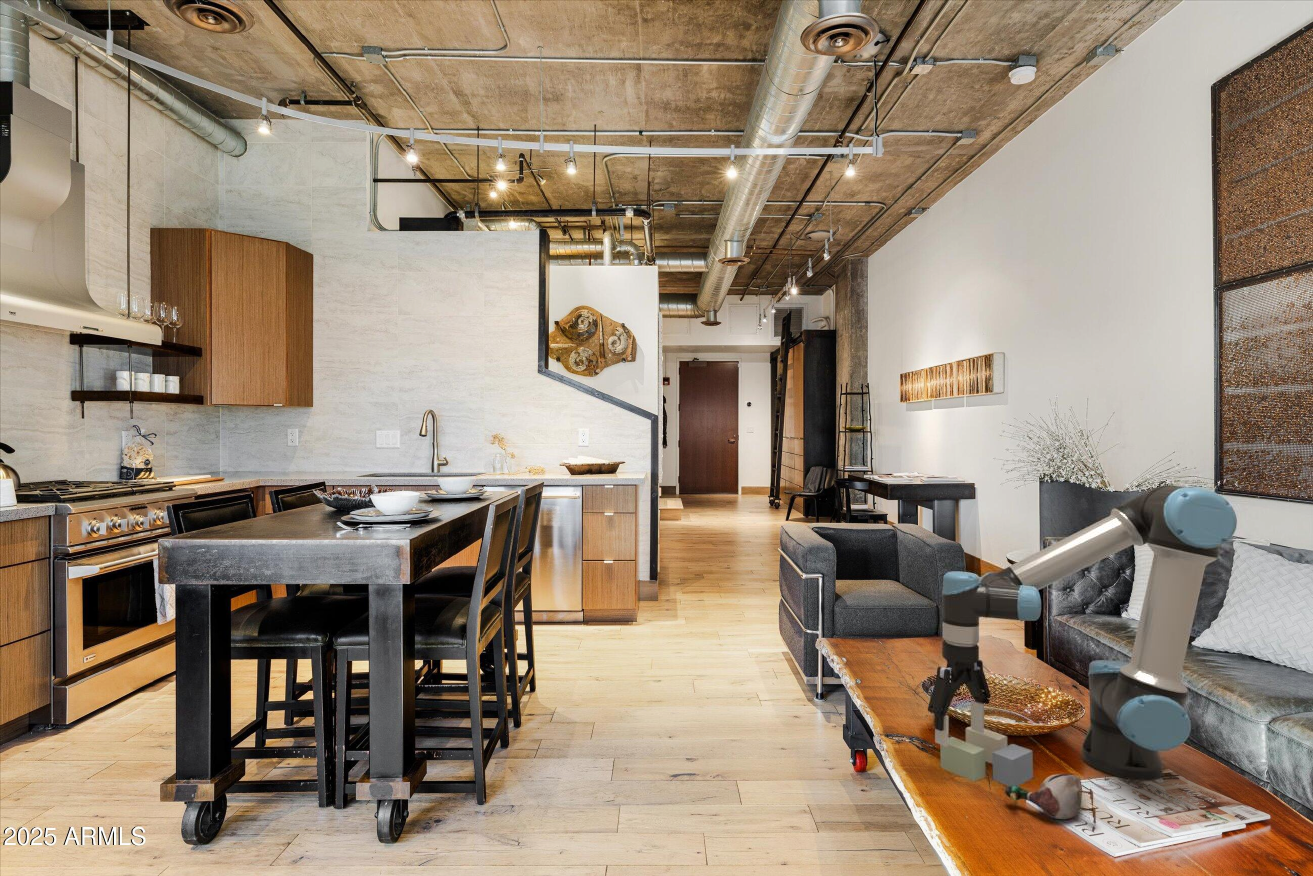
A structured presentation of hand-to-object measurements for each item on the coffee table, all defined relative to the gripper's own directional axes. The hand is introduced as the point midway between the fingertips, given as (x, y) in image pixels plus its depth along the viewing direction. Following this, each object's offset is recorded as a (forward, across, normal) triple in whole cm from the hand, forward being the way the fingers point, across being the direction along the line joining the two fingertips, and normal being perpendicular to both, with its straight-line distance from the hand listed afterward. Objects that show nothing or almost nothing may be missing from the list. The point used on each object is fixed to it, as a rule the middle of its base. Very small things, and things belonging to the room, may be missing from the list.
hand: (959, 737), depth 150 cm
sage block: (+8, 0, 0) cm, 8 cm away
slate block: (+7, -6, +8) cm, 13 cm away
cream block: (+7, -11, 0) cm, 14 cm away
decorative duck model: (+7, 0, +20) cm, 21 cm away
